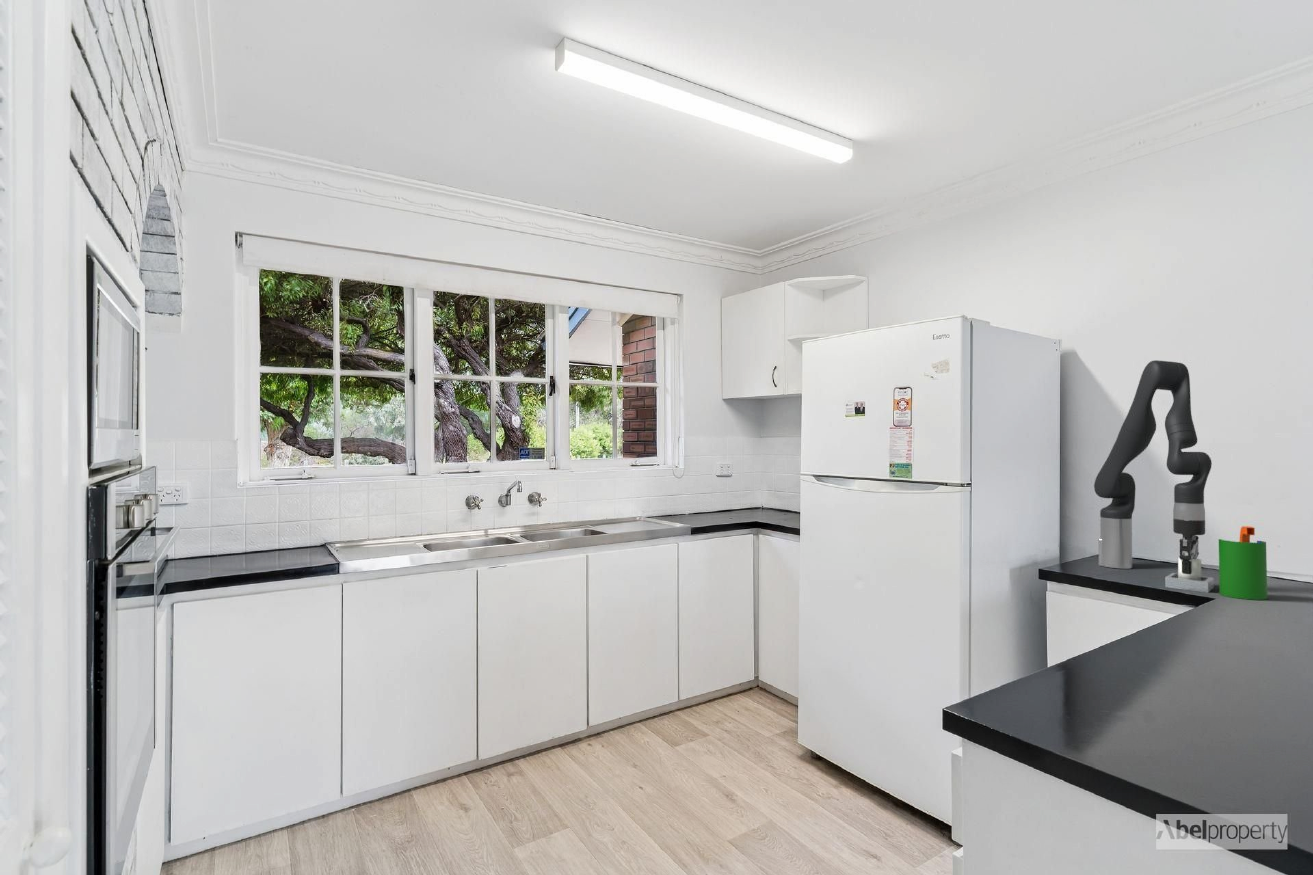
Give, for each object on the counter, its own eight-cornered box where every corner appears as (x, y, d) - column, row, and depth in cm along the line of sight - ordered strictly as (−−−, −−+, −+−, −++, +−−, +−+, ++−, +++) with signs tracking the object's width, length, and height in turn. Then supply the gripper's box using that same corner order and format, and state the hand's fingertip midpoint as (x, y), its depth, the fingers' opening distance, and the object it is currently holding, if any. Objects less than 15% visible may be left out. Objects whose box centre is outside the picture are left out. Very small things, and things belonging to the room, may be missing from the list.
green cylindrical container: (1251, 593, 193) (1251, 524, 193) (1277, 600, 184) (1276, 527, 184) (1213, 592, 194) (1213, 523, 194) (1237, 599, 185) (1236, 527, 185)
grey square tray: (1165, 587, 201) (1165, 577, 201) (1172, 582, 208) (1171, 572, 208) (1208, 592, 194) (1208, 582, 194) (1213, 587, 200) (1213, 577, 201)
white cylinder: (1176, 584, 201) (1176, 554, 201) (1180, 582, 205) (1180, 553, 205) (1199, 587, 197) (1199, 557, 197) (1202, 585, 201) (1202, 555, 201)
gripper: (1178, 515, 209) (1178, 567, 208) (1168, 518, 199) (1169, 573, 199) (1208, 517, 203) (1209, 570, 203) (1200, 520, 193) (1201, 576, 193)
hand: (1189, 571), depth 201 cm, fingers open, 8 cm apart
